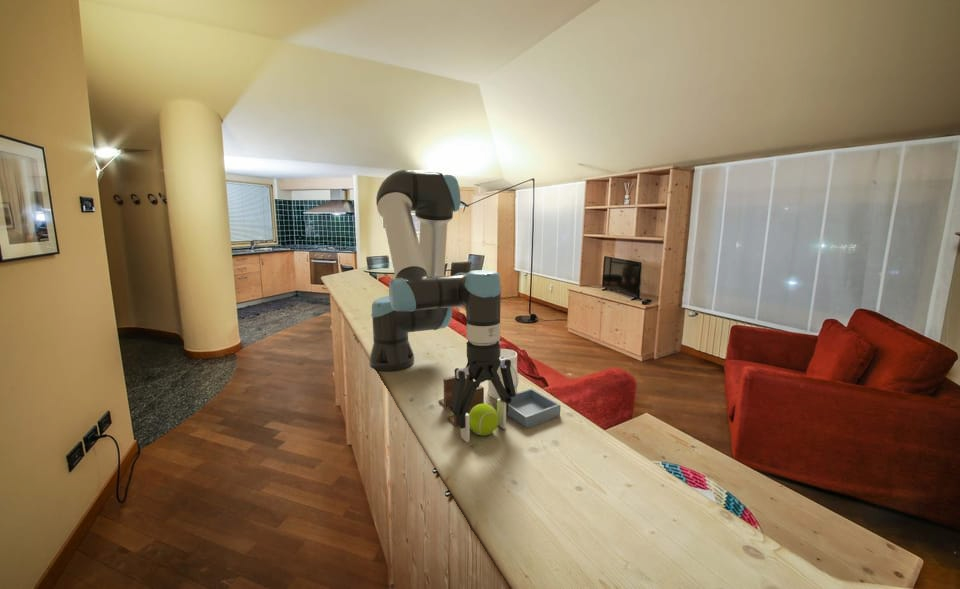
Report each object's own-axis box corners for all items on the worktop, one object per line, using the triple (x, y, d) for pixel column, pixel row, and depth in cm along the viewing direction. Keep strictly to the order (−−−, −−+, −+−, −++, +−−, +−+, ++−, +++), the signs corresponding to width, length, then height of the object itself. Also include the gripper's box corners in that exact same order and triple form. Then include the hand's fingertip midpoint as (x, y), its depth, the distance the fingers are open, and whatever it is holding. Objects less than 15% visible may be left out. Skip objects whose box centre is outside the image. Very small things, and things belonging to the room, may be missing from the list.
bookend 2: (447, 418, 94) (447, 388, 92) (475, 409, 98) (474, 381, 96) (456, 426, 90) (455, 395, 89) (483, 416, 94) (483, 387, 93)
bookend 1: (439, 402, 102) (438, 374, 101) (464, 394, 106) (464, 368, 105) (446, 408, 99) (445, 380, 97) (472, 400, 103) (471, 373, 101)
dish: (498, 409, 98) (498, 398, 98) (531, 398, 104) (531, 388, 104) (525, 428, 89) (525, 417, 88) (559, 415, 95) (560, 404, 94)
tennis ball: (504, 435, 86) (504, 407, 85) (478, 445, 83) (478, 416, 81) (487, 421, 92) (487, 395, 91) (462, 430, 89) (462, 403, 87)
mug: (528, 401, 102) (529, 360, 100) (500, 407, 99) (501, 365, 97) (508, 384, 113) (509, 346, 111) (482, 389, 110) (482, 350, 107)
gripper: (447, 355, 74) (449, 456, 78) (532, 336, 86) (530, 425, 90) (430, 344, 80) (434, 439, 85) (512, 328, 92) (511, 412, 96)
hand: (483, 432), depth 87 cm, fingers open, 9 cm apart
